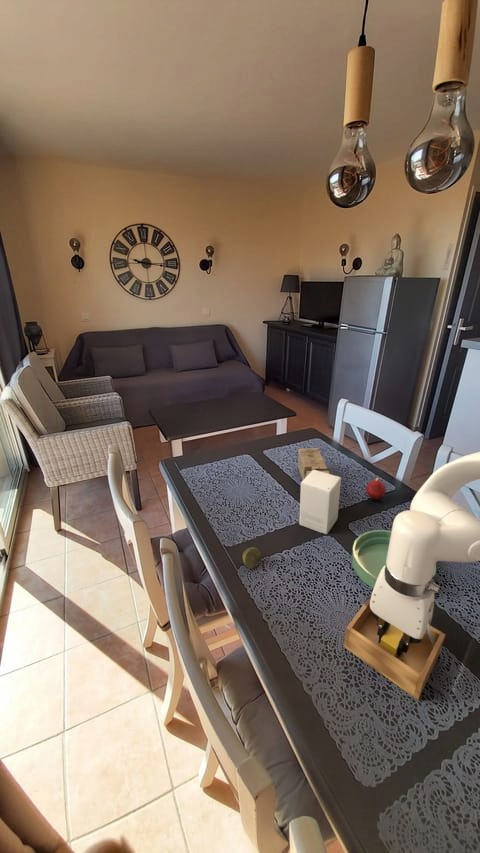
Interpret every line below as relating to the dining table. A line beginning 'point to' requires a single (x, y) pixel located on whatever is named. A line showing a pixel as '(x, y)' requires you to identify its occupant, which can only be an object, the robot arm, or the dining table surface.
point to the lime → (251, 557)
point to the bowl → (371, 555)
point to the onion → (375, 489)
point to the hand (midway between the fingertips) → (392, 644)
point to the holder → (400, 670)
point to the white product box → (319, 501)
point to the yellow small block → (391, 640)
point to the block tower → (310, 461)
